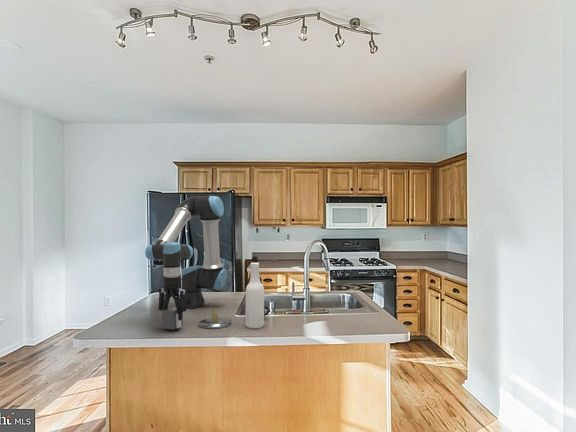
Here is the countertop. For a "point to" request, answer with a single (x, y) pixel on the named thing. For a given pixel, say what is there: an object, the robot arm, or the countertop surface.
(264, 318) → the mug
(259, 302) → the alcohol
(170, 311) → the knob
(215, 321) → the hub
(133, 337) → the countertop surface
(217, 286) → the robot arm
